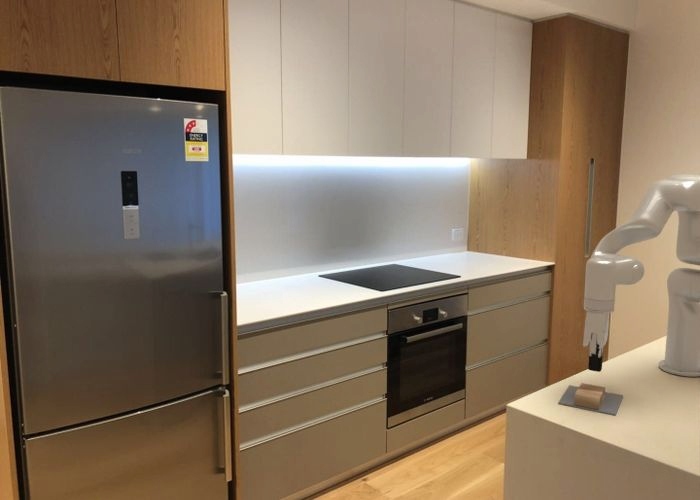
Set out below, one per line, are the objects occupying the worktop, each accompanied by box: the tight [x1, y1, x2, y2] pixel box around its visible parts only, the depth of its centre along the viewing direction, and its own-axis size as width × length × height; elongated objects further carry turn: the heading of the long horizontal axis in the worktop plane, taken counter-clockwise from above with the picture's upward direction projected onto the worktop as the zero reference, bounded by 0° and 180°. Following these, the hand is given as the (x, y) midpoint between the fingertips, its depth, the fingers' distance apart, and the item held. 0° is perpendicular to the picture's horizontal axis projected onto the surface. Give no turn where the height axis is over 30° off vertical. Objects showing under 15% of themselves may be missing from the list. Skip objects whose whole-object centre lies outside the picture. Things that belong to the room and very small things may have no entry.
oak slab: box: [574, 382, 606, 410], centre depth 156 cm, size 3×6×9 cm
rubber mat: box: [557, 384, 624, 416], centre depth 157 cm, size 14×14×1 cm
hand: (594, 369), depth 159 cm, fingers closed
